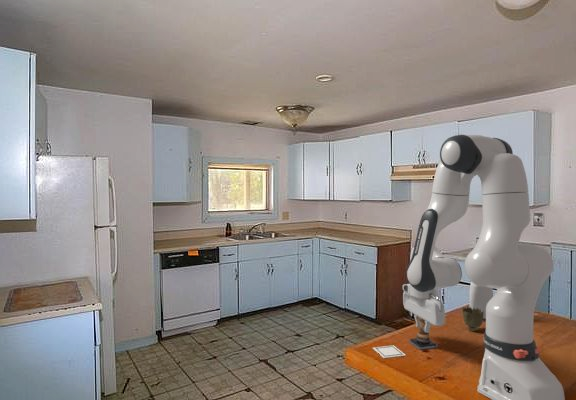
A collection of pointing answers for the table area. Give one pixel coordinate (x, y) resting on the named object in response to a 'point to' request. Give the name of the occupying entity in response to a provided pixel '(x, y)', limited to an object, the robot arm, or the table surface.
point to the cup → (472, 318)
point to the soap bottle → (479, 297)
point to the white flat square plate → (389, 351)
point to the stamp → (422, 333)
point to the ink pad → (423, 346)
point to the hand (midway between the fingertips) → (423, 329)
